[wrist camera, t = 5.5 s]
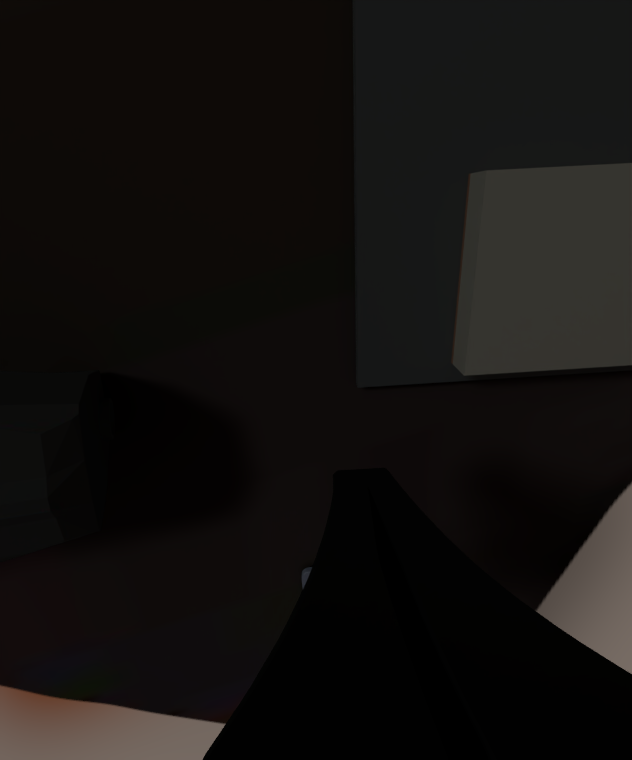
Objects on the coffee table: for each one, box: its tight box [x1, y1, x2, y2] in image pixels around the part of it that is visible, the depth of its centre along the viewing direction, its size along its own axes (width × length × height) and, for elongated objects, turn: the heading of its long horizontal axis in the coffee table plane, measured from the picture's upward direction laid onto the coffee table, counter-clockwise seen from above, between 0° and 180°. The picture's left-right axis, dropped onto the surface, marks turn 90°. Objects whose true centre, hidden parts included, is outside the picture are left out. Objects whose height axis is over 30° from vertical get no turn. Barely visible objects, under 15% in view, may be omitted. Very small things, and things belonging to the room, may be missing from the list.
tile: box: [451, 163, 632, 376], centre depth 17 cm, size 8×2×9 cm
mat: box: [353, 0, 632, 388], centre depth 17 cm, size 16×15×1 cm
